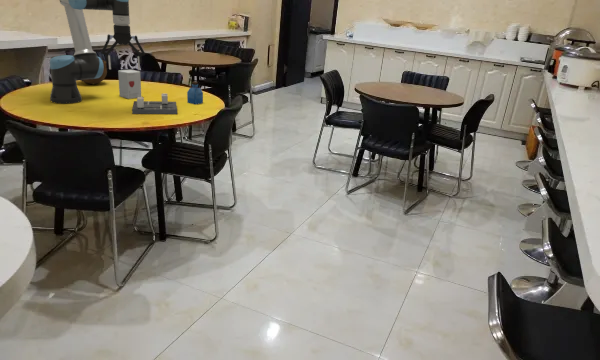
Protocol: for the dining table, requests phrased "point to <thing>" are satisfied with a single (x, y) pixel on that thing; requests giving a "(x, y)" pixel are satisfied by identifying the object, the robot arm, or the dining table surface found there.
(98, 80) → the bowl
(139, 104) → the fader
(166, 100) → the fader
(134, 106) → the console
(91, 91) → the dining table surface
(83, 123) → the dining table surface
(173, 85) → the dining table surface
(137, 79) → the supplement box
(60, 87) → the robot arm
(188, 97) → the perfume bottle
